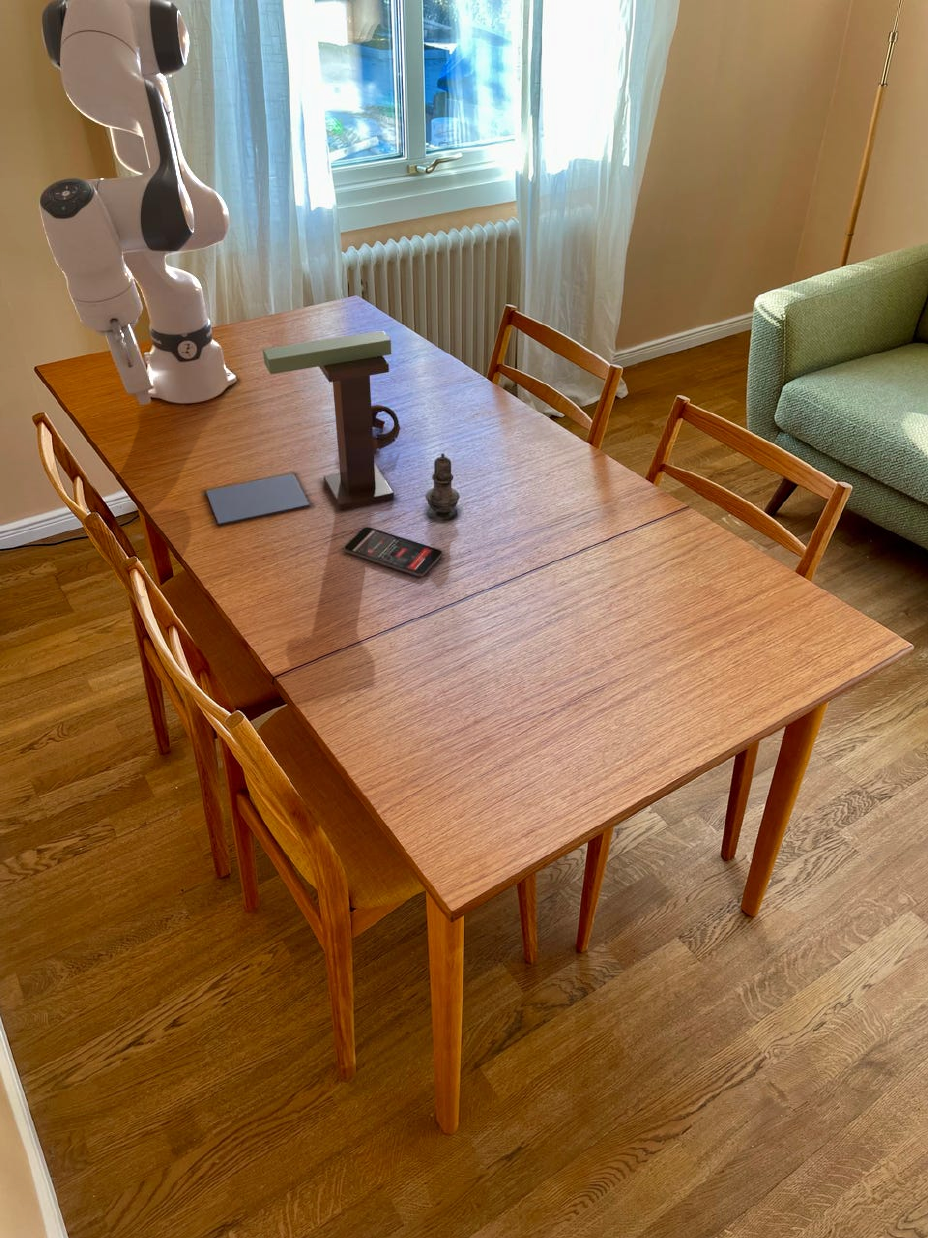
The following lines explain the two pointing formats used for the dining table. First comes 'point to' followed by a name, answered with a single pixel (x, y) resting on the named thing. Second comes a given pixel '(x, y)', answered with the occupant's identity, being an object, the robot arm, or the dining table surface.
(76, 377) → the dining table surface
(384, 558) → the smartphone
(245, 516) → the blue-grey flat rectangular plate
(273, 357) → the bar
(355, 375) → the stand
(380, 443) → the pottery mug
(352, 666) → the dining table surface
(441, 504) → the salt shaker
